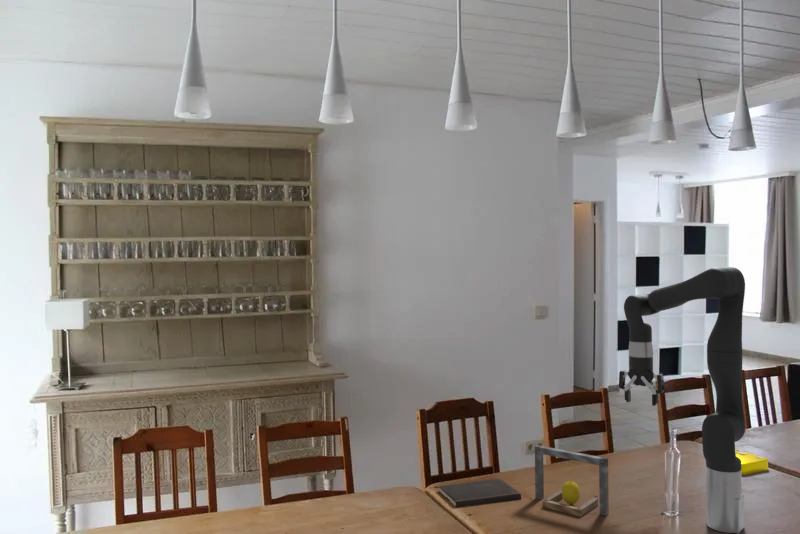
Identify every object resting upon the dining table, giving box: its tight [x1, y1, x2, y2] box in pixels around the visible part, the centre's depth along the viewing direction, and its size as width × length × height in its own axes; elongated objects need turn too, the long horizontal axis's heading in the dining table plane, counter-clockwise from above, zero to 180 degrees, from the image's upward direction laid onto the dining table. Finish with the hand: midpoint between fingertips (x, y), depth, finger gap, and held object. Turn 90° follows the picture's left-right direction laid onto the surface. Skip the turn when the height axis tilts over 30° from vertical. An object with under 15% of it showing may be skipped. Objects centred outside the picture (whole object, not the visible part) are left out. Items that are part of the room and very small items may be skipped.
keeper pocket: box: [534, 444, 610, 518], centre depth 206 cm, size 24×12×17 cm, turn 50°
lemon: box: [561, 480, 581, 506], centre depth 207 cm, size 6×6×8 cm
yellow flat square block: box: [735, 448, 769, 476], centre depth 243 cm, size 15×15×5 cm
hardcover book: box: [438, 478, 522, 508], centre depth 218 cm, size 16×23×2 cm
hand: (641, 403), depth 216 cm, fingers open, 8 cm apart
